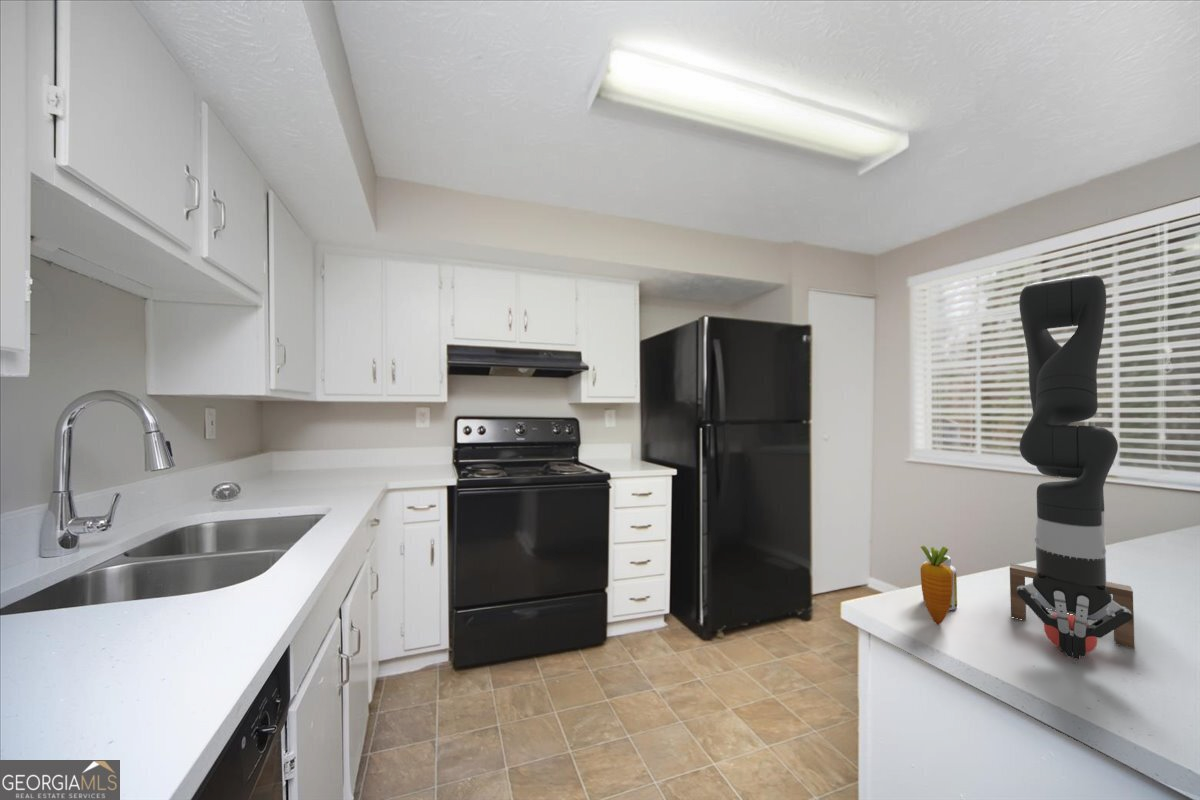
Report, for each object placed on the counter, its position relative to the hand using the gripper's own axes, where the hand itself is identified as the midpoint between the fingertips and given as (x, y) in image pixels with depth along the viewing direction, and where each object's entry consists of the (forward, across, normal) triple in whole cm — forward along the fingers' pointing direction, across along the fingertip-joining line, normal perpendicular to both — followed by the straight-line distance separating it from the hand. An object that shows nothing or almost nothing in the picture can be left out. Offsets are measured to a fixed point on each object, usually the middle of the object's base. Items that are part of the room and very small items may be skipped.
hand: (1072, 655), depth 68 cm
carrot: (+1, +17, 0) cm, 17 cm away
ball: (-2, 0, -4) cm, 5 cm away
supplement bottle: (+1, +18, -10) cm, 20 cm away
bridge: (+1, 0, -14) cm, 14 cm away
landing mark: (+1, 0, -28) cm, 28 cm away
